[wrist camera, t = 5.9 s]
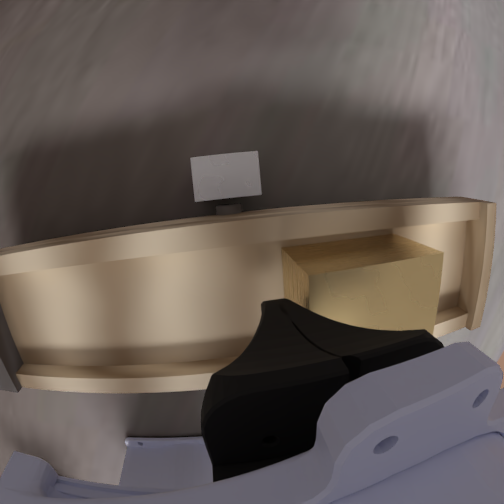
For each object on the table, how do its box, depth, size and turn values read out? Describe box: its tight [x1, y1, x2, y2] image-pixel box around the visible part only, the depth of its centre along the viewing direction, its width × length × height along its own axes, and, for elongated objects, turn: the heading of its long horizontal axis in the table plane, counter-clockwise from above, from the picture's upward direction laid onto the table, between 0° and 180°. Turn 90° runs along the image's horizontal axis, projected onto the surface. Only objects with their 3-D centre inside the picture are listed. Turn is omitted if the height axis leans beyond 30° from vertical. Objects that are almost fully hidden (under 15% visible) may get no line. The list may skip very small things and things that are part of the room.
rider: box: [281, 234, 444, 335], centre depth 13 cm, size 6×5×4 cm
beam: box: [0, 197, 496, 393], centre depth 14 cm, size 31×9×4 cm, turn 95°
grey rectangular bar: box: [190, 151, 262, 202], centre depth 16 cm, size 3×14×4 cm, turn 5°
